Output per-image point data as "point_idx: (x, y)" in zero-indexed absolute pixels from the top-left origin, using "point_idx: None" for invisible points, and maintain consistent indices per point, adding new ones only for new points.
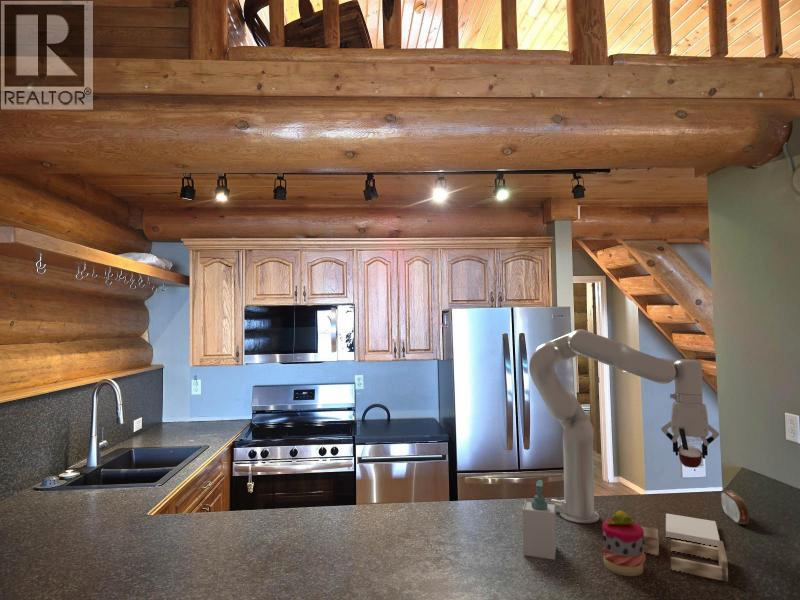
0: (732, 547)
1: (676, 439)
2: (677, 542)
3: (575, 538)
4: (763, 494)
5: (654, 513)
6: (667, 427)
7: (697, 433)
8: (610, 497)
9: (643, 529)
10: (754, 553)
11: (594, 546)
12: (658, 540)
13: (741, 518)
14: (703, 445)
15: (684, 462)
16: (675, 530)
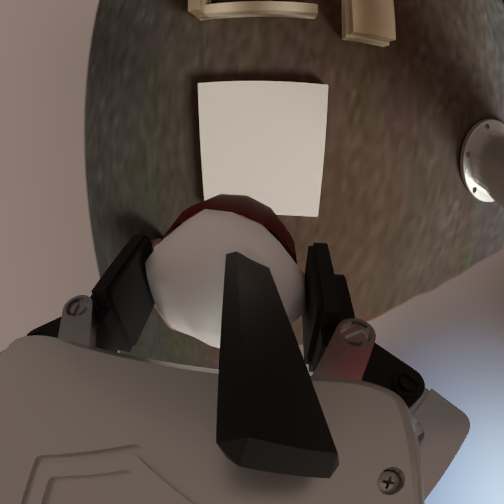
0: (177, 100)
1: (333, 345)
2: (300, 2)
3: (490, 40)
4: None
5: (338, 238)
6: (424, 458)
7: (64, 376)
8: (410, 293)
9: (387, 21)
10: (138, 93)
11: (459, 7)
12: (346, 19)
13: (154, 239)
14: (103, 301)
15: (268, 208)
16: (303, 99)
